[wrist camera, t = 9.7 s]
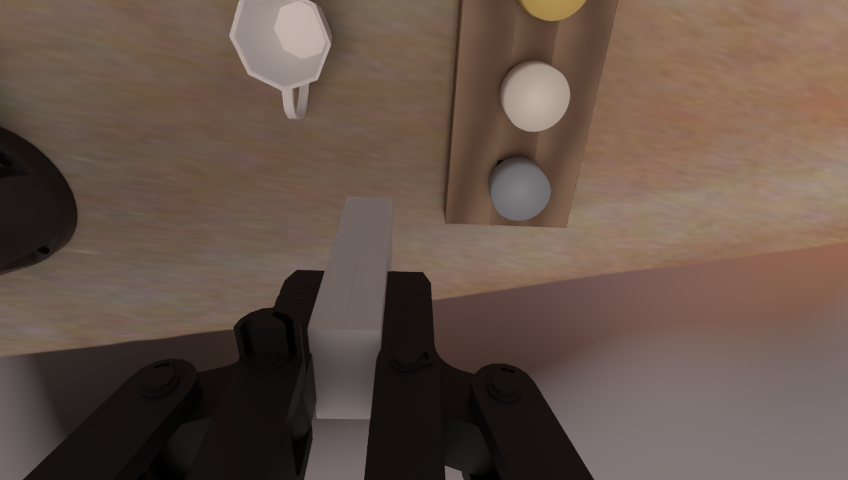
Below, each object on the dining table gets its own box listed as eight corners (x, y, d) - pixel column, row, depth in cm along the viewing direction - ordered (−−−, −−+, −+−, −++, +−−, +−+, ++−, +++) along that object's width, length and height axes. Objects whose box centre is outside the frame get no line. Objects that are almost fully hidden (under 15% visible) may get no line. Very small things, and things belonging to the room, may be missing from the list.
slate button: (481, 195, 45) (488, 219, 40) (487, 146, 42) (496, 166, 38) (532, 197, 45) (545, 221, 40) (541, 148, 43) (555, 168, 38)
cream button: (491, 113, 41) (500, 130, 36) (498, 53, 38) (509, 63, 34) (546, 116, 41) (562, 133, 37) (557, 56, 39) (576, 67, 34)
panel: (443, 209, 47) (445, 223, 45) (467, -101, 34) (471, -107, 32) (558, 214, 48) (566, 227, 45) (623, -91, 35) (640, -97, 32)
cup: (346, -15, 37) (329, -13, 30) (346, 109, 42) (332, 135, 35) (259, -23, 37) (221, -23, 30) (269, 103, 42) (239, 128, 35)
